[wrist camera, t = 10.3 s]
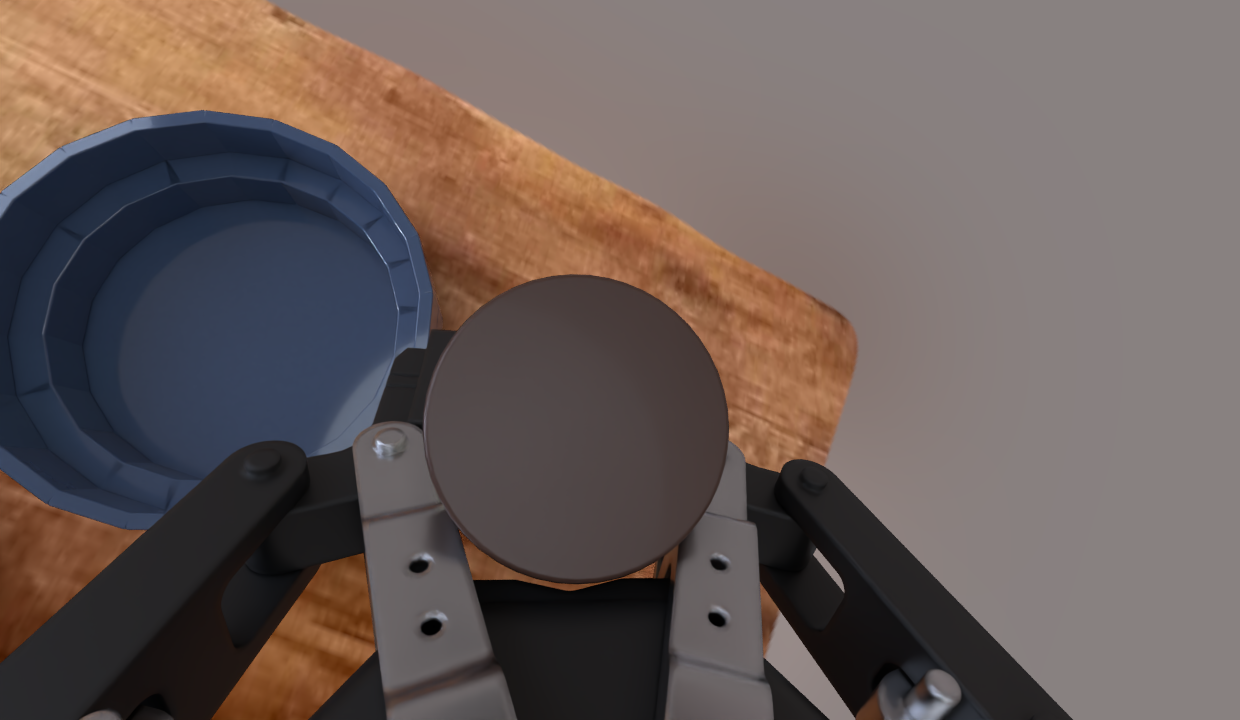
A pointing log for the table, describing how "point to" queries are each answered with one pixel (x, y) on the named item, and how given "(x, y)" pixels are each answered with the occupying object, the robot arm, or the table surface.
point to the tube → (575, 429)
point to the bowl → (195, 307)
